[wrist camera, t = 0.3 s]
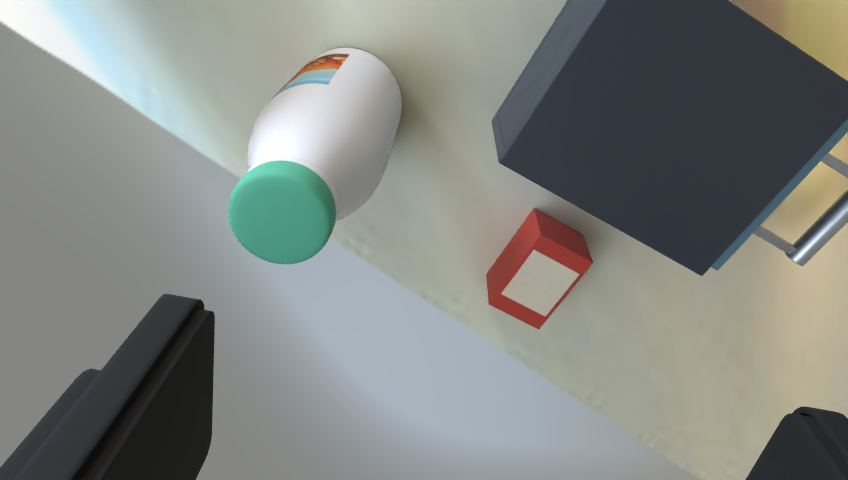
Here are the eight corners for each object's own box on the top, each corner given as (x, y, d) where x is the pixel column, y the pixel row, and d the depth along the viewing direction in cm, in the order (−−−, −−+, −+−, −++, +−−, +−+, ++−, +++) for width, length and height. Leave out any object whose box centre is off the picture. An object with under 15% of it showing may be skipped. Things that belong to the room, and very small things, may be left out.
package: (486, 274, 50) (488, 304, 46) (533, 208, 47) (540, 234, 43) (532, 298, 51) (539, 330, 47) (582, 234, 48) (593, 262, 44)
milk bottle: (398, 42, 42) (355, 130, 24) (407, 148, 45) (375, 294, 28) (288, 49, 42) (168, 140, 25) (306, 153, 46) (211, 299, 28)
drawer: (874, 127, 42) (944, 162, 36) (746, 261, 47) (788, 311, 41) (633, -32, 38) (666, -24, 32) (523, 133, 43) (534, 167, 37)
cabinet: (793, 63, 41) (869, 95, 34) (662, 219, 47) (702, 276, 39) (606, -62, 38) (643, -58, 31) (491, 121, 44) (498, 162, 36)
